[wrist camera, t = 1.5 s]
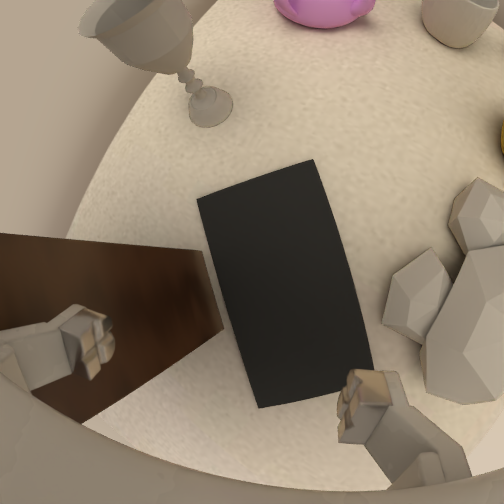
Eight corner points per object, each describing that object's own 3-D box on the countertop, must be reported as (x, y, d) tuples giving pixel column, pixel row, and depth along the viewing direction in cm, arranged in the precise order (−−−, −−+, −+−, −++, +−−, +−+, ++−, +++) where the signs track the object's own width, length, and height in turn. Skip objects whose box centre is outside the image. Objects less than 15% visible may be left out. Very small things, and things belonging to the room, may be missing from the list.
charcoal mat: (375, 378, 25) (376, 380, 25) (259, 406, 28) (258, 408, 27) (313, 160, 27) (313, 158, 27) (198, 200, 29) (196, 199, 29)
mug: (465, 67, 23) (495, 20, 13) (405, 27, 25) (419, -27, 15) (483, 27, 22) (505, -13, 12) (433, -6, 24) (446, -50, 14)
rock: (347, 327, 26) (362, 361, 17) (450, 160, 24) (495, 123, 15) (463, 410, 23) (500, 452, 13) (548, 262, 21) (600, 261, 11)
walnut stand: (224, 328, 29) (-24, 482, 3) (130, 348, 31) (-75, 425, 5) (201, 250, 29) (-91, 223, 4) (111, 281, 32) (-109, 296, 6)
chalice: (232, 73, 29) (166, -44, 12) (251, 118, 29) (181, -8, 11) (174, 99, 31) (80, 6, 13) (187, 145, 30) (75, 55, 12)
